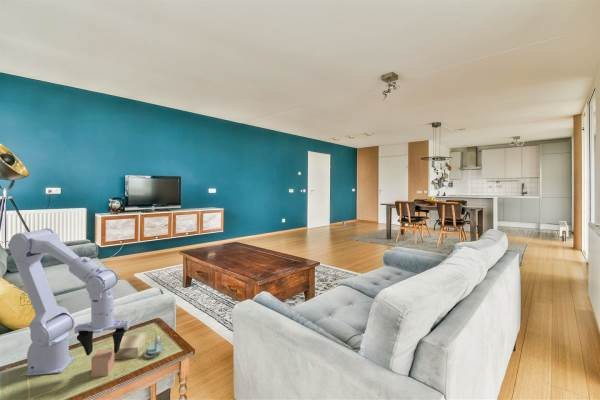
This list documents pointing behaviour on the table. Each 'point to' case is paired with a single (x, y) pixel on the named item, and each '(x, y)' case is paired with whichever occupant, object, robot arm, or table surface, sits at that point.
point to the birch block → (130, 346)
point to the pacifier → (153, 348)
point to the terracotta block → (102, 362)
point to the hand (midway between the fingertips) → (103, 352)
